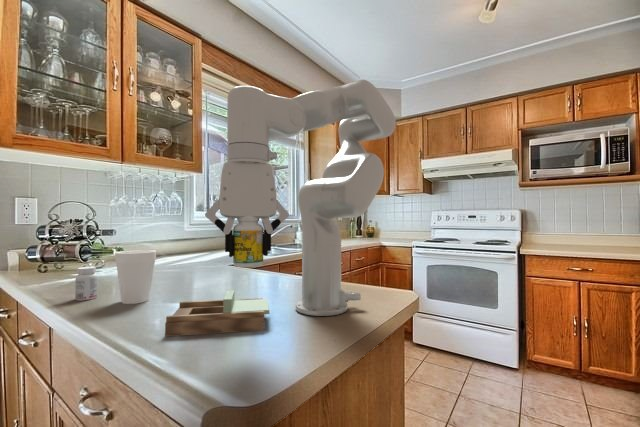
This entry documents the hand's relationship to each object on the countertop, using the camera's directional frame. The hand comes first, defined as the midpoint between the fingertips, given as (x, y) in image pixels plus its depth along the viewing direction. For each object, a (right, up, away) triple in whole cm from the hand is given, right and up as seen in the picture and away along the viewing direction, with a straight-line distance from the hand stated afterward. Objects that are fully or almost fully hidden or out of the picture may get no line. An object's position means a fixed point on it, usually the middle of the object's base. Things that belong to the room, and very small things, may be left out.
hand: (248, 254), depth 57 cm
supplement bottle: (0, -2, 0) cm, 2 cm away
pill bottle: (-51, -16, +28) cm, 60 cm away
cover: (-2, -13, +9) cm, 16 cm away
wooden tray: (-8, -15, +8) cm, 19 cm away
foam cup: (-36, -16, +26) cm, 47 cm away
